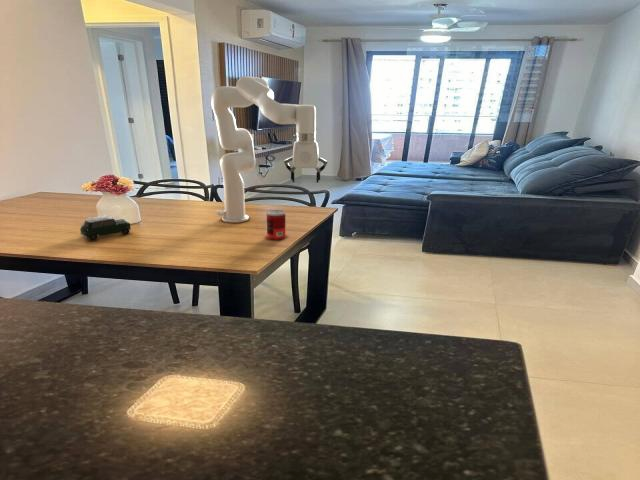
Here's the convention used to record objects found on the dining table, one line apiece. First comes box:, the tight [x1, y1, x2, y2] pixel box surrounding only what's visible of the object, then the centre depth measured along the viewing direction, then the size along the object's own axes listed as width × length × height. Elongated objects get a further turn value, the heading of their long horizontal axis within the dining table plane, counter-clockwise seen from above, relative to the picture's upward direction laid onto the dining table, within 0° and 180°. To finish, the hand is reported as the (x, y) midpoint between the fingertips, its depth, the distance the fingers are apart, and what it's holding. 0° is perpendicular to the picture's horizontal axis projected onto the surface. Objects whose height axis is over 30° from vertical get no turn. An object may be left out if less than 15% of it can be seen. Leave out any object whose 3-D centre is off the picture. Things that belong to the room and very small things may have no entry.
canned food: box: [266, 209, 287, 241], centre depth 159 cm, size 8×8×11 cm
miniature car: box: [79, 214, 132, 242], centre depth 156 cm, size 9×18×8 cm, turn 134°
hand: (305, 181), depth 154 cm, fingers open, 9 cm apart
